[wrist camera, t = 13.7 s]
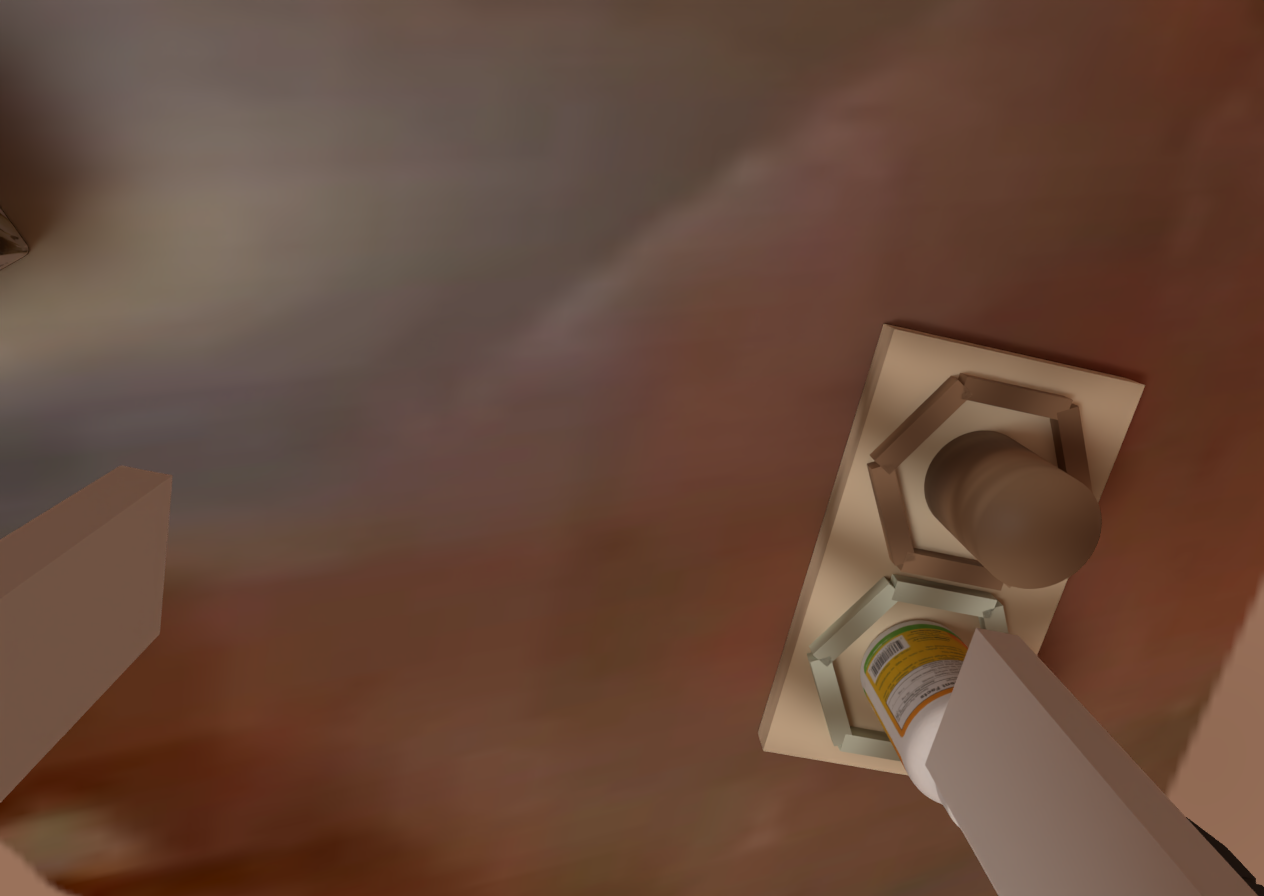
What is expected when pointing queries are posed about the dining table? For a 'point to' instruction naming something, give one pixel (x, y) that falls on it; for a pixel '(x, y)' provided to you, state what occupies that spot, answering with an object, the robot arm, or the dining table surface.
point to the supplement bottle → (913, 691)
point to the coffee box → (10, 242)
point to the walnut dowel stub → (1012, 509)
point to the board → (924, 526)
